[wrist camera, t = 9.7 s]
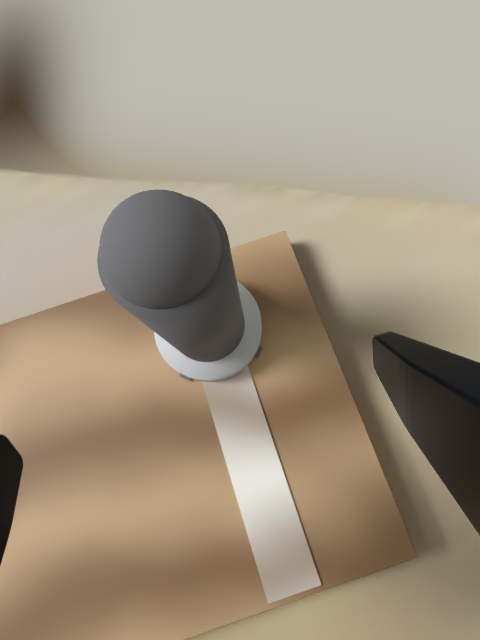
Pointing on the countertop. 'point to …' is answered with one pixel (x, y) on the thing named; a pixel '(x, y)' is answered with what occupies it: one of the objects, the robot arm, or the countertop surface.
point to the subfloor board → (183, 471)
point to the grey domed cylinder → (180, 283)
